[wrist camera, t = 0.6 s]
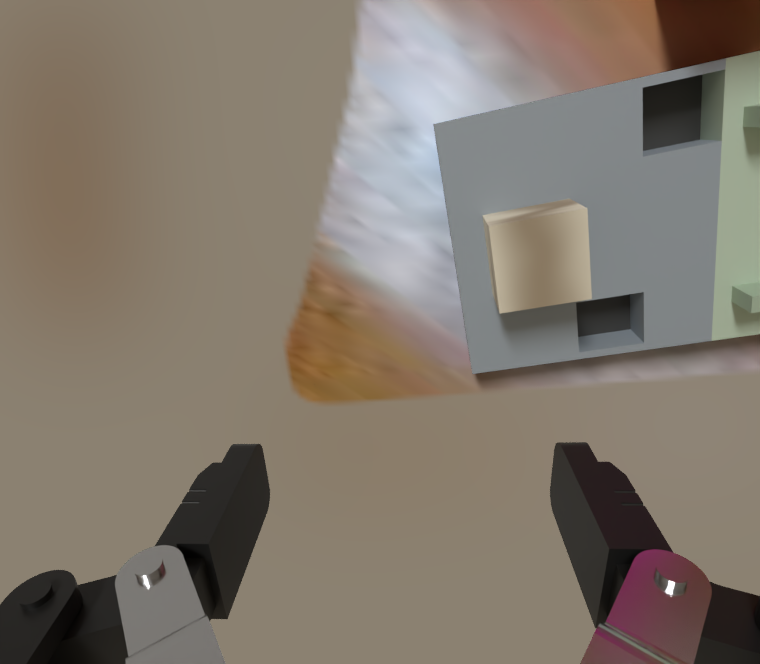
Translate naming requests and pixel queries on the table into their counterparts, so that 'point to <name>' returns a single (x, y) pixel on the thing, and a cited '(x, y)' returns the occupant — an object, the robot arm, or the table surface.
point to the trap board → (618, 211)
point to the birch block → (539, 255)
